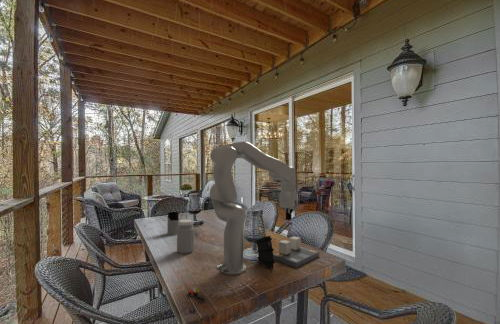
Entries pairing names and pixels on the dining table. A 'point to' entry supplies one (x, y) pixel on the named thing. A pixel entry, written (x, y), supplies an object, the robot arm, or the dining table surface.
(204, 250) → the dining table surface
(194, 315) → the dining table surface
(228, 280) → the dining table surface
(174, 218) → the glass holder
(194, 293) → the composite cable
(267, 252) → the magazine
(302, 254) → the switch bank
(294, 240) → the beige cylinder
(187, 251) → the jar
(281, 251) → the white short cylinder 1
